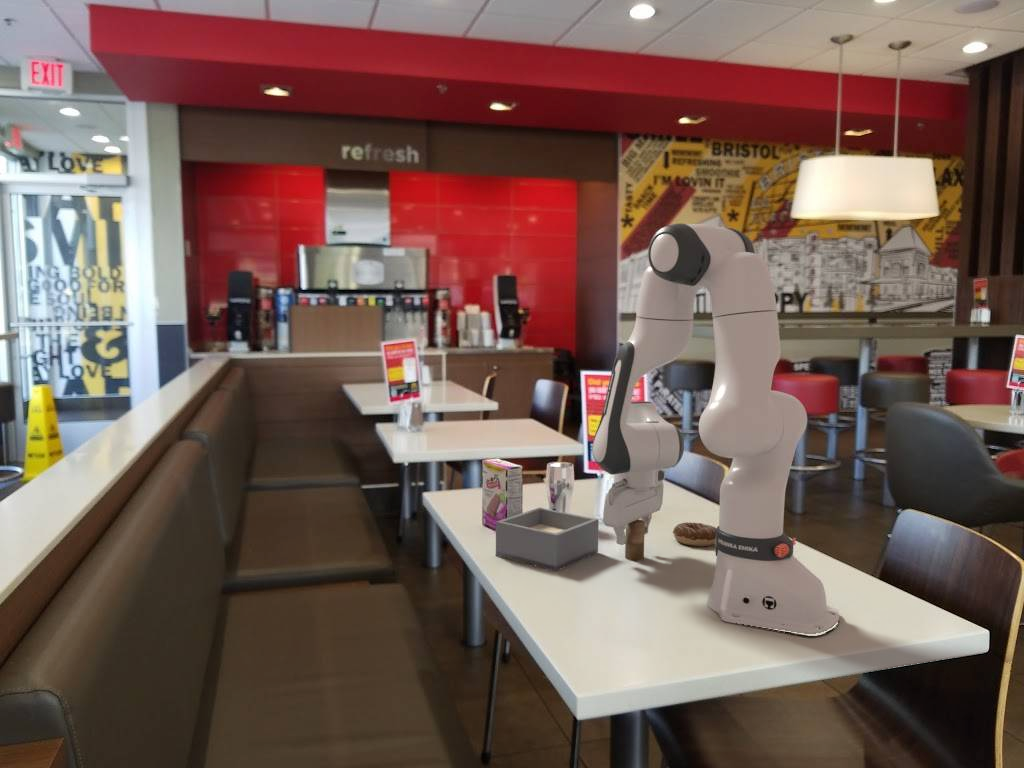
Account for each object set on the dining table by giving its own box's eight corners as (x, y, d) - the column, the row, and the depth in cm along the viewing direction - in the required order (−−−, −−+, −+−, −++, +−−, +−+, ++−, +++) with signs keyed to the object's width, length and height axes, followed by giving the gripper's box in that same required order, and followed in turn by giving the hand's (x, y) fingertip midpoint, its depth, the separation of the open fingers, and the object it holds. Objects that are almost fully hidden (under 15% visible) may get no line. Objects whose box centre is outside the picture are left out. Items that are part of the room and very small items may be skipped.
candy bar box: (480, 525, 197) (481, 459, 195) (497, 522, 200) (498, 457, 198) (506, 536, 188) (506, 467, 186) (523, 533, 191) (524, 465, 189)
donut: (671, 546, 181) (672, 529, 181) (673, 534, 192) (674, 517, 191) (720, 550, 179) (720, 533, 178) (719, 537, 189) (720, 521, 189)
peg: (647, 557, 173) (648, 521, 172) (638, 562, 170) (639, 525, 169) (630, 553, 175) (631, 518, 174) (621, 558, 172) (622, 521, 171)
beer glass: (571, 528, 195) (572, 467, 194) (543, 526, 196) (544, 466, 195) (574, 520, 202) (575, 462, 200) (547, 519, 203) (548, 461, 202)
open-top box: (597, 552, 176) (598, 519, 175) (556, 571, 163) (556, 535, 163) (539, 539, 186) (539, 507, 185) (495, 555, 173) (495, 521, 172)
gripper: (623, 486, 161) (621, 553, 162) (669, 470, 177) (666, 531, 178) (596, 481, 164) (594, 547, 166) (643, 466, 181) (641, 526, 182)
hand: (632, 538), depth 172 cm, fingers open, 8 cm apart
